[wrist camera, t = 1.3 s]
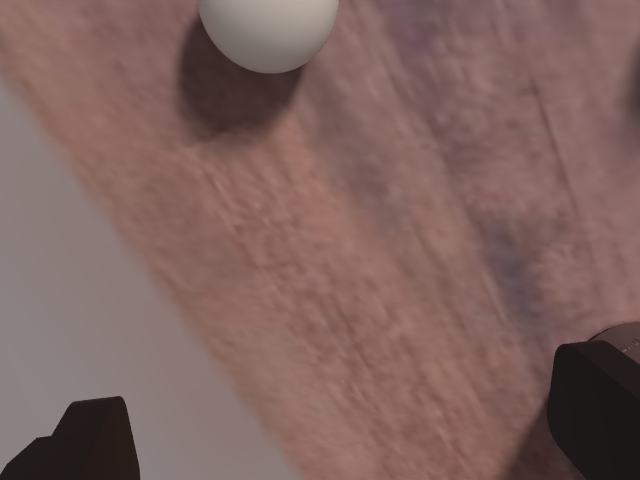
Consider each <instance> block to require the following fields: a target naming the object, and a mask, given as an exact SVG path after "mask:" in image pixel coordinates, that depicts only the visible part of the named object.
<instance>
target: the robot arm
mask: <svg viewBox="0 0 640 480" xmlns="http://www.w3.org/2000/svg"><path fill="white" fill-rule="evenodd" d="M547 418H548V424H549V428H550V431H551V433H552V436H553V438H554V440H555V441H556V443H557V445H558V446H559V447H560V449H561V450H562V451H563V452H564V453H565V454H566V456H567V457H568V458H569V459H570V460H571V461H572V463H573V464H574V465H575V466H576V467H577V468H578V470H579V471H580V472H581V473H582V474H583V475H584V477H585V478H586V479H587V480H640V322H633V323H625V324H622V325H619V326H616V327H613V328H610V329H608V330H607V331H605V332H603V333H601V334H599V335H598V336H596V337H595V338H594V339H592V340H591V341H586V342H577V343H569V344H562V345H560V346H559V347H558V348H557V350H556V353H555V357H554V364H553V372H552V379H551V387H550V394H549V402H548V409H547ZM0 480H140V469H139V463H138V459H137V454H136V449H135V445H134V440H133V435H132V431H131V426H130V421H129V417H128V412H127V408H126V404H125V401H124V399H123V398H122V397H120V396H116V397H108V398H100V399H91V400H83V401H75V402H72V403H71V404H70V405H69V407H68V408H67V410H66V412H65V413H64V415H63V417H62V418H61V420H60V422H59V424H58V425H57V427H56V429H55V431H54V432H53V434H52V436H47V437H40V438H36V439H35V440H34V441H33V442H32V443H30V444H29V445H28V446H27V447H26V448H25V449H24V450H23V451H21V452H20V453H19V454H18V455H17V456H16V457H15V458H13V459H12V460H11V461H10V462H9V463H8V464H7V465H6V466H5V468H4V470H3V471H2V473H1V474H0Z"/></svg>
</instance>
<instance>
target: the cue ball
mask: <svg viewBox="0 0 640 480" xmlns="http://www.w3.org/2000/svg"><path fill="white" fill-rule="evenodd" d="M197 5H198V10H199V14H200V17H201V20H202V23H203V25H204V27H205V30H206V32H207V33H208V35H209V37H210V38H211V40H212V41H213V43H214V44H215V45H216V47H217V48H218V49H219V50H220V51H221V52H222V53H223V54H224V55H225V56H226V57H227V58H229V59H230V60H231V61H233V62H234V63H236V64H238V65H239V66H241V67H244V68H246V69H248V70H251V71H255V72H259V73H266V74H276V73H284V72H287V71H291V70H294V69H296V68H298V67H300V66H302V65H304V64H305V63H307V62H308V61H309V60H311V59H312V58H313V57H314V56H315V55H316V54H317V53H318V52H319V51H320V50H321V49H322V47H323V46H324V44H325V43H326V42H327V40H328V38H329V36H330V34H331V32H332V30H333V27H334V24H335V21H336V17H337V11H338V0H197Z"/></svg>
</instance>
